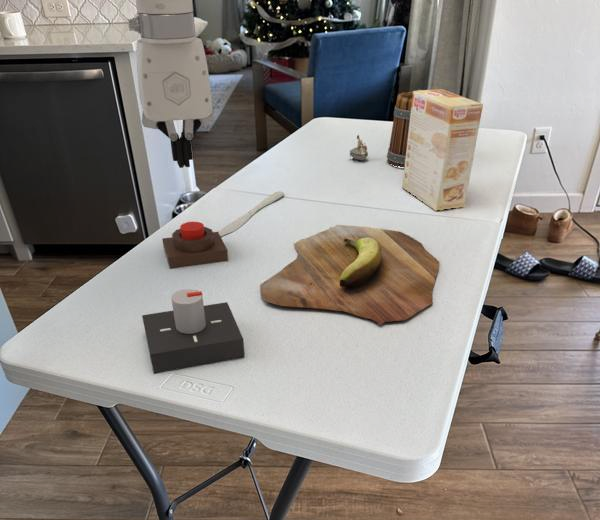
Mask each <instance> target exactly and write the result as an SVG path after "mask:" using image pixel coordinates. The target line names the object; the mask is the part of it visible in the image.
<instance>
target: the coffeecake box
mask: <svg viewBox="0 0 600 520" xmlns="http://www.w3.org/2000/svg"><path fill="white" fill-rule="evenodd" d="M420 90H421V91H417V90H413V91H412V92H413V96H412V106H411V114H410V123H409V132H408V141H407V150H406V159H405V167H404V169H403V175H402V176H403V177H402V186H401V188H402V189H403V188H404V189H405V190H404V189H403V190H404V191H406V190H407V191H406V192H407V193H409V192H410V193H411V194H410V193H409V194H410V195H411V196H413V195H414V196H413V197H415V196H416V197H417V198H416V197H415V198H416V199H418V200H420V201H421V202H422V201H423V202H422V203H423V204H425V205H426V206H427V207H429V208H431V209H432V210H436V211H435V212H438V211H437V210H440V211H445V210H444V209H448V210H452V209H451V208H456V209H460V208H459V207H463V208H465V206H466V200H467V194H468V189H469V184H470V178H471V173H472V168H473V161H474V157H475V151H476V145H477V140H478V134H479V129H480V123H481V118H482V113H483V107H484V104H483V103H481V102H479V101H476V100H473V99H470V98H467V97H465V96H462V95H459V94H457V93H454V92H451V91H448V90H446V89H442V88H436V89H435V88H433V89H431V88H430V89H420Z"/></svg>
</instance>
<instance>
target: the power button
mask: <svg viewBox="0 0 600 520" xmlns="http://www.w3.org/2000/svg"><path fill="white" fill-rule="evenodd" d="M204 227H205V225H204V223H203V222H200V221H187V222H184V223H181V224H180V226H179V229H180V230H181V237H182V238H183V239H189V240H193V239H199V238H202V237H204V236H205V231H204Z"/></svg>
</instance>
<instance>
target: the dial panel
mask: <svg viewBox="0 0 600 520" xmlns="http://www.w3.org/2000/svg"><path fill="white" fill-rule="evenodd" d="M204 312H205V320H206V327H205V328H204V329H203V330H202V331H200V332H197V333H193V334H185V333H181V332H179V331H178V330H177V329H176V325H175V318H174V312H173V310H168V311H161V312H154V313H149V314H143V315H141V318H142V322H143V323H142V324H143V329H144V333H145V337H146V343H147V347H148V352H149V353H148V354H149V358H150V363H151V367H152V372H153V374H156V373H157V374H158V373H163V372H168V371H169V372H170V371H174V370H180V369H185V368H191V367H197V366H202V365H207V364H215V363H220V362H224V361H229V360H237V359H242V358H245V344H244V337H243V335H242V333H241V330H240V328H239V325H238V323H237V322H236V321H237V320H236V319H235V317H234V314H233V312H232V310H231V308H230V305H229V303H228V302H227V301H226V302H218V303H213V304H206V305H205V304H204Z"/></svg>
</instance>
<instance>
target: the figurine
mask: <svg viewBox="0 0 600 520" xmlns="http://www.w3.org/2000/svg"><path fill="white" fill-rule="evenodd" d="M356 140H357V146H356V147H354V148H352V149H350V150H349V156H351V157H353V158H354V159H353V160H355V159H357V160H358V161H362V160H366V159H367V157H368V156H369V152H368V147H367V145H366V142H365V141H364V142H363V139H361V138H360V135H359V134H357V135H356Z"/></svg>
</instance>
